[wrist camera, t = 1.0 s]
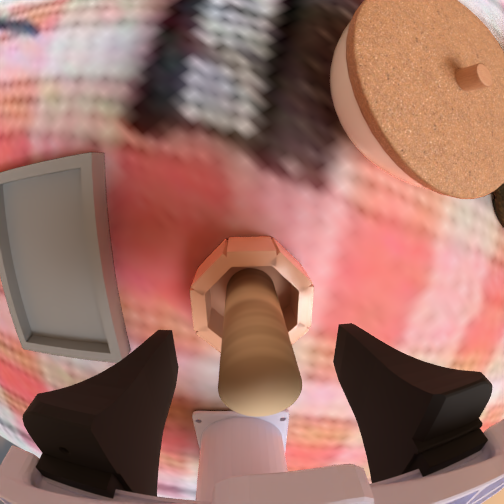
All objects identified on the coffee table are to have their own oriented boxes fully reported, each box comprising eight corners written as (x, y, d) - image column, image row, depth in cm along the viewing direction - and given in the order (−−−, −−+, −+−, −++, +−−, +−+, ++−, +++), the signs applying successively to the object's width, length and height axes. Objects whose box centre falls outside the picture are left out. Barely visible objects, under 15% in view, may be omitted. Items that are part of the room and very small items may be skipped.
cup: (298, 329, 20) (307, 355, 17) (202, 332, 20) (197, 359, 17) (303, 235, 18) (315, 249, 15) (195, 238, 18) (186, 252, 15)
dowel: (274, 311, 19) (298, 413, 10) (227, 313, 19) (221, 417, 10) (275, 267, 18) (305, 354, 9) (225, 268, 18) (214, 358, 9)
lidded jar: (361, 9, 14) (427, -60, 5) (465, 110, 16) (557, 101, 7) (273, 110, 16) (308, 54, 7) (399, 217, 18) (497, 257, 9)
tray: (130, 349, 20) (123, 363, 18) (33, 338, 20) (22, 348, 18) (104, 153, 16) (91, 152, 14) (1, 174, 16) (-14, 176, 14)
